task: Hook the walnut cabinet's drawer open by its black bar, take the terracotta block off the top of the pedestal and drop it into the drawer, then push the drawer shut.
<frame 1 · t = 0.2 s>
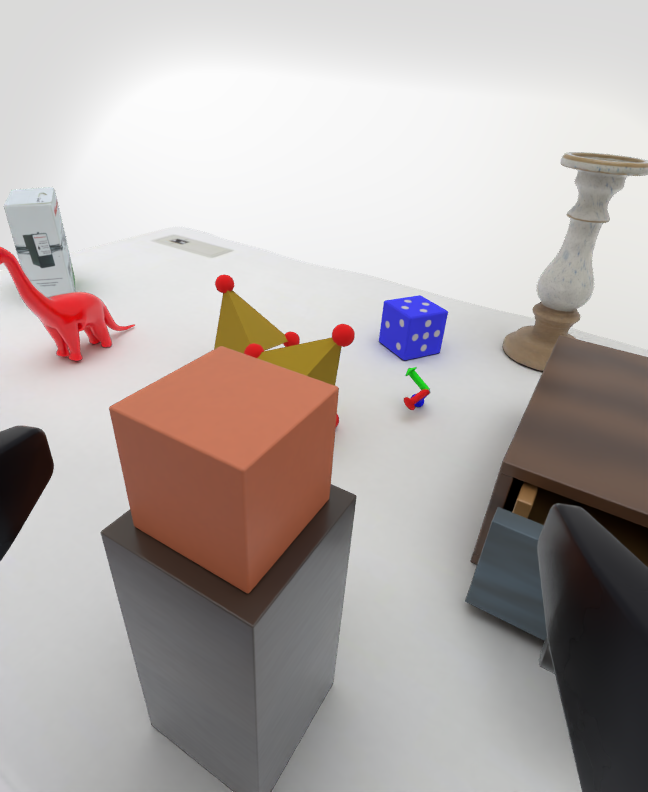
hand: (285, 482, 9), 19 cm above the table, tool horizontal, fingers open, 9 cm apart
pedestal: (246, 702, 23), on the table
ink box: (55, 294, 63), on the table
drawer: (627, 531, 28), point 4 cm above the table, slide at 2.5 cm
dinosaur: (83, 355, 51), on the table
candle holder: (541, 356, 56), on the table
cabinet: (610, 513, 35), on the table
molecule model: (299, 398, 46), on the table
die: (408, 349, 56), on the table
block: (236, 512, 17), point 12 cm above the table, touching pedestal
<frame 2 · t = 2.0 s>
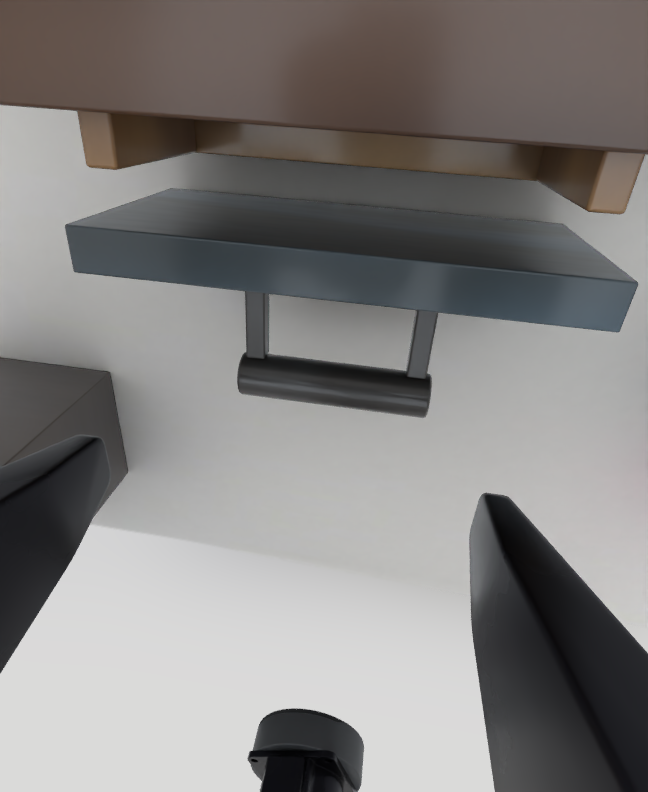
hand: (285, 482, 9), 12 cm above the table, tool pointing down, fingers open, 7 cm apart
pedestal: (63, 417, 25), on the table
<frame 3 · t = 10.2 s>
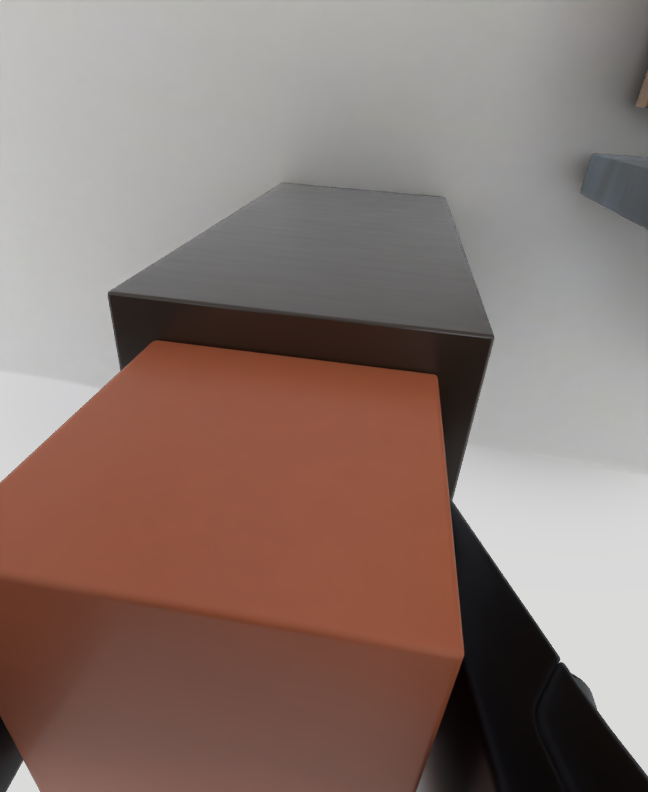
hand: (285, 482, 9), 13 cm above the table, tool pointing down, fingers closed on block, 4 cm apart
pedestal: (354, 270, 20), on the table
block: (288, 468, 9), point 12 cm above the table, touching gripper, pedestal
when the fingers open (9 cm above the table, at t = 14.2 s): block drops 7 cm, resting on drawer.
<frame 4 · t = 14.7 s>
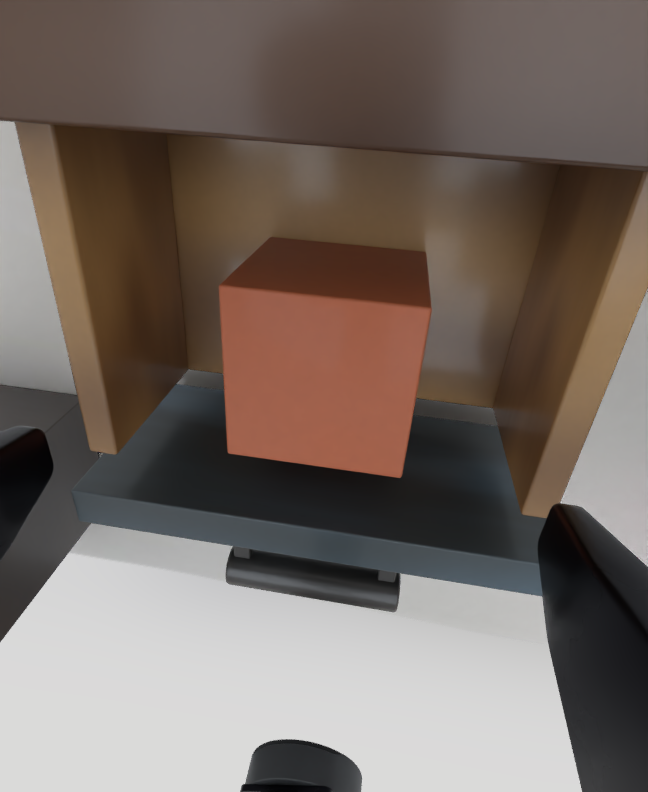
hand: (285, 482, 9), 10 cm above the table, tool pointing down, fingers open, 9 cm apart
pedestal: (37, 443, 23), on the table
drawer: (338, 273, 13), point 4 cm above the table, slide at 9.1 cm, touching block
block: (340, 317, 16), point 2 cm above the table, touching drawer
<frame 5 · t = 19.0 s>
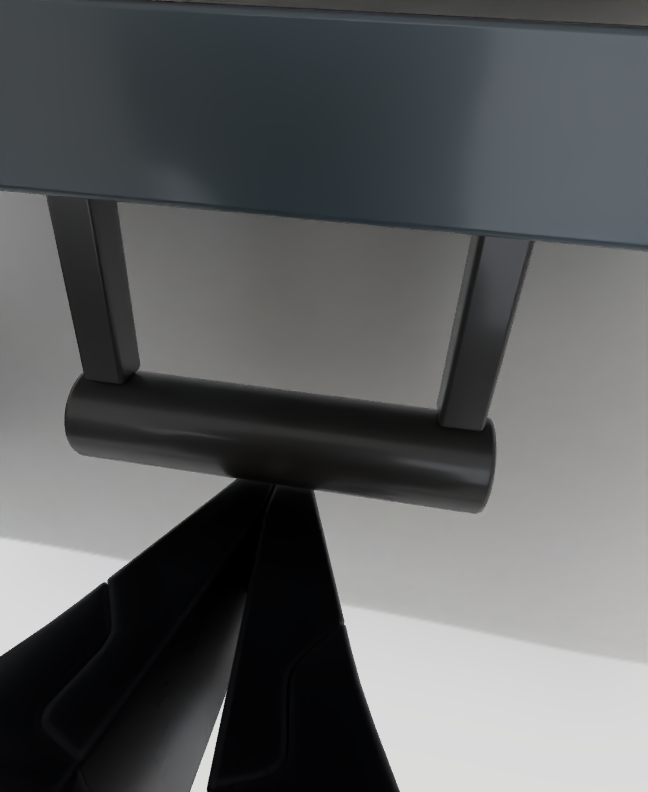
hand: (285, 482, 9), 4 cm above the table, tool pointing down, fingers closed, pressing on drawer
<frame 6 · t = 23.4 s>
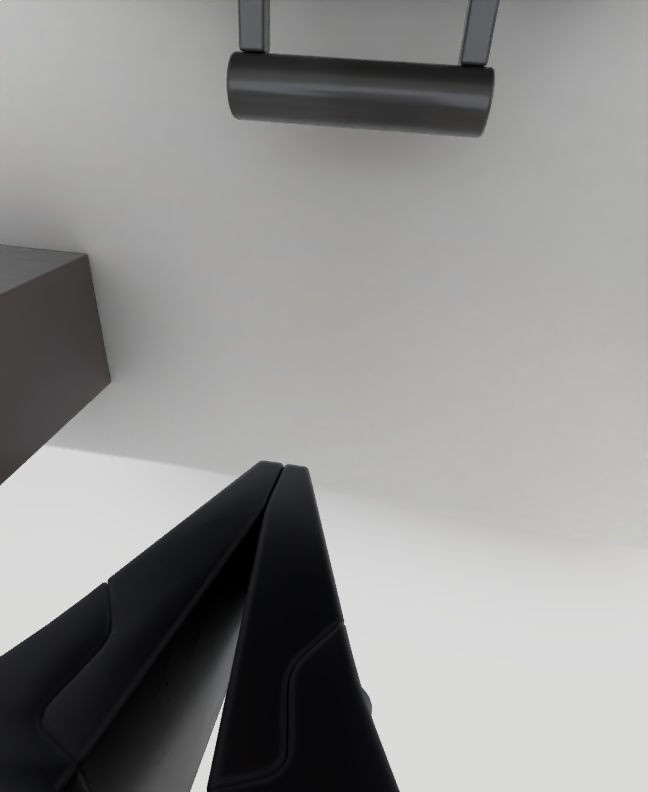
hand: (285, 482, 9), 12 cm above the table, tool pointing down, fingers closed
pedestal: (36, 315, 22), on the table
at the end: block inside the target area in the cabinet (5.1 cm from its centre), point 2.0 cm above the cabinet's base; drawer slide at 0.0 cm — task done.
